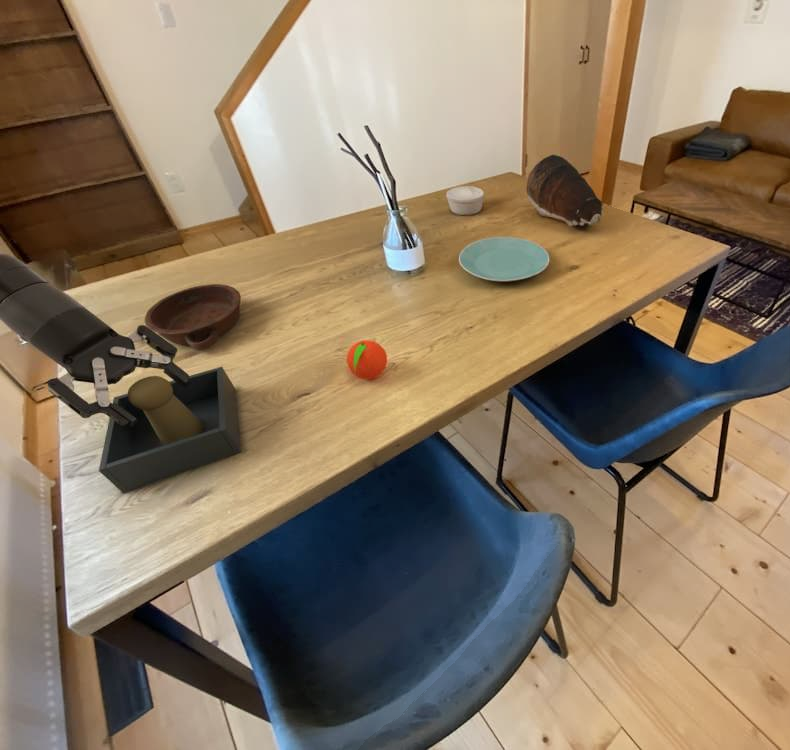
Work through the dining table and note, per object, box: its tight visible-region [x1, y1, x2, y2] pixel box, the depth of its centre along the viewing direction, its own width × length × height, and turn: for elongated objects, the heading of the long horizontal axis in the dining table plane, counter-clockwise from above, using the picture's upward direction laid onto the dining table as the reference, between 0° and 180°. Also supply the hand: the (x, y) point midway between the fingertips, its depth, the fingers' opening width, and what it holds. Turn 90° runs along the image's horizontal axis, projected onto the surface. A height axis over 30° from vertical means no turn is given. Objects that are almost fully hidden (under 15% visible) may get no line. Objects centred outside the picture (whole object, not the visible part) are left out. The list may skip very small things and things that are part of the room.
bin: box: [98, 366, 242, 494], centre depth 68 cm, size 16×16×6 cm
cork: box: [127, 375, 204, 446], centre depth 66 cm, size 6×6×11 cm
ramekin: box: [445, 185, 485, 216], centre depth 133 cm, size 11×11×5 cm
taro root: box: [525, 154, 605, 227], centre depth 124 cm, size 15×15×25 cm
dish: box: [144, 283, 242, 351], centre depth 90 cm, size 18×22×5 cm
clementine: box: [346, 339, 388, 380], centre depth 77 cm, size 8×7×7 cm
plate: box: [458, 236, 550, 283], centre depth 107 cm, size 22×22×3 cm
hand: (163, 403), depth 64 cm, fingers open, 8 cm apart
